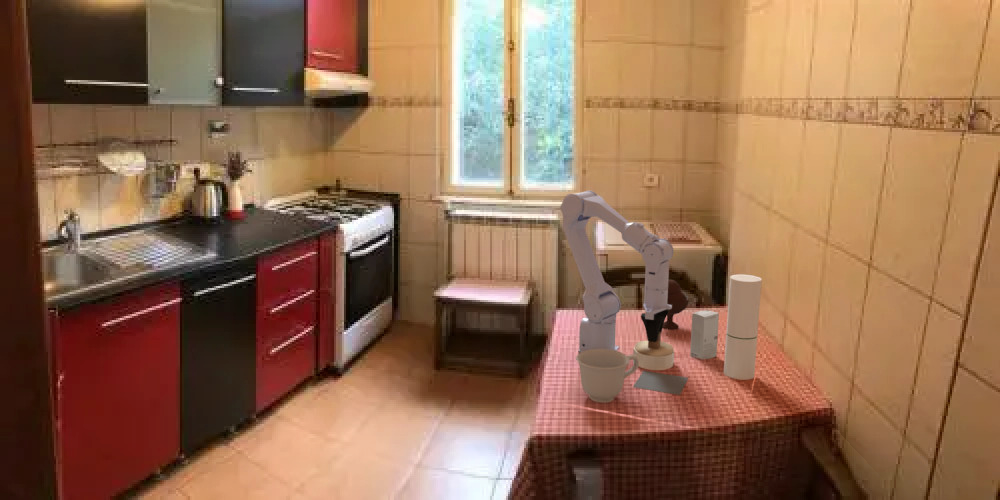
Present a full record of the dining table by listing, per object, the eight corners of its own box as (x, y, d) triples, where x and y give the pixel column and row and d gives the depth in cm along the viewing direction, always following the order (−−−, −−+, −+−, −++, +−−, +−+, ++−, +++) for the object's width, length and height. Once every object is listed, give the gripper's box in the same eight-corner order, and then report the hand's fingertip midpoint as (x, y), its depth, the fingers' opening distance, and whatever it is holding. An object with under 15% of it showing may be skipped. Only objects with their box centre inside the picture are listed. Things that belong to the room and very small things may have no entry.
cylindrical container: (753, 372, 167) (761, 275, 162) (754, 382, 161) (762, 282, 156) (723, 368, 170) (730, 273, 164) (723, 379, 163) (729, 280, 158)
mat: (632, 388, 158) (632, 386, 158) (643, 372, 168) (643, 370, 168) (679, 396, 153) (680, 394, 153) (688, 379, 163) (688, 377, 163)
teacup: (649, 405, 149) (651, 363, 147) (588, 413, 145) (589, 370, 143) (624, 384, 161) (626, 344, 159) (567, 392, 157) (567, 351, 154)
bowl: (628, 367, 171) (629, 353, 170) (638, 354, 180) (638, 340, 179) (669, 374, 166) (669, 359, 166) (676, 360, 175) (677, 346, 175)
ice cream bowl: (692, 332, 197) (695, 283, 194) (654, 332, 197) (656, 283, 194) (683, 321, 207) (686, 274, 204) (647, 321, 207) (649, 274, 204)
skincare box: (702, 361, 175) (704, 317, 172) (688, 356, 178) (691, 312, 176) (717, 356, 178) (720, 313, 175) (704, 351, 182) (706, 308, 179)
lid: (631, 353, 170) (631, 335, 169) (639, 341, 178) (640, 324, 177) (669, 358, 166) (670, 341, 165) (676, 346, 174) (677, 329, 173)
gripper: (666, 296, 161) (664, 349, 163) (677, 282, 173) (675, 332, 176) (637, 293, 164) (635, 345, 166) (650, 279, 176) (648, 328, 179)
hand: (654, 338), depth 172 cm, fingers open, 4 cm apart
